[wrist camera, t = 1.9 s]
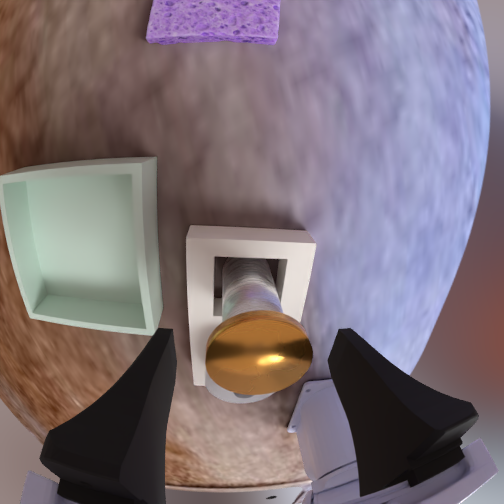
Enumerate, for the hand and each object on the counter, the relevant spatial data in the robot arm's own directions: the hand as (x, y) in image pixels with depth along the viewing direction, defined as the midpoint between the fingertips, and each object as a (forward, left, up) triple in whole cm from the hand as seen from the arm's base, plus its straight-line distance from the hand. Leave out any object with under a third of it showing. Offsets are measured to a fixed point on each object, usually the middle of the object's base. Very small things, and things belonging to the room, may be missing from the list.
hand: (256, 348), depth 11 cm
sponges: (+20, +3, -8) cm, 22 cm away
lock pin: (0, 0, -7) cm, 7 cm away
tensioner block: (-3, 0, -7) cm, 8 cm away
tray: (+2, +10, -7) cm, 13 cm away
